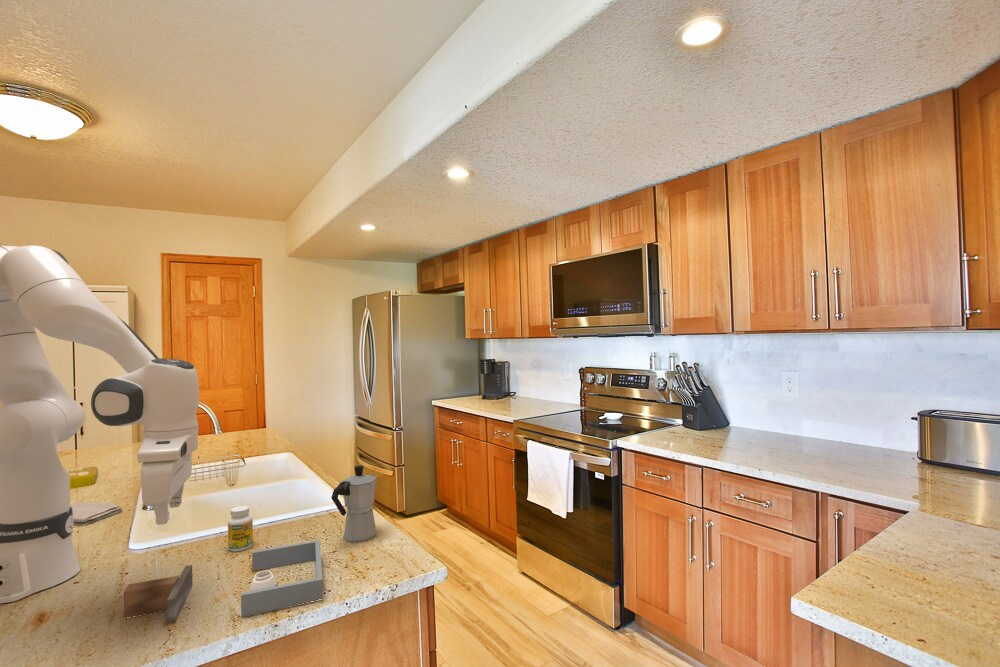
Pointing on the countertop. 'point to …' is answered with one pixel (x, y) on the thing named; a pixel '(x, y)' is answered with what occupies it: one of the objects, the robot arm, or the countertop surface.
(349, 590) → the countertop surface
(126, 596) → the scraper
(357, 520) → the coffee maker
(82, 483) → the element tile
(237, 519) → the supplement bottle
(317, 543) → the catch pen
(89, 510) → the washcloth
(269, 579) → the white jar
